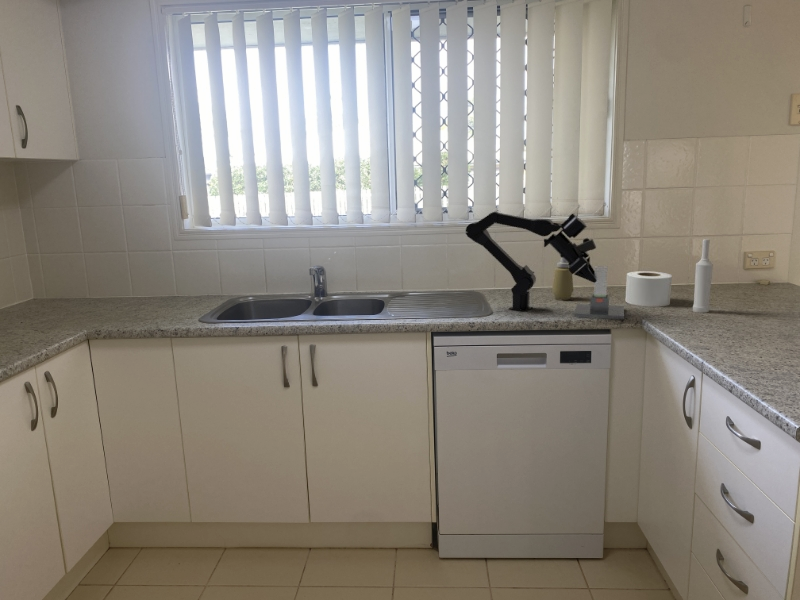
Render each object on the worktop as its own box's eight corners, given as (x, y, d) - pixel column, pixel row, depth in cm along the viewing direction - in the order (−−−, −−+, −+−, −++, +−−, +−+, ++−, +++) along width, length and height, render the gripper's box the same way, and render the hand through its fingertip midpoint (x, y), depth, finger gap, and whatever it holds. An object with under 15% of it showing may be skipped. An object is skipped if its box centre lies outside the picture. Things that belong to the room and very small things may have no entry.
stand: (573, 316, 198) (574, 299, 197) (577, 307, 213) (577, 291, 212) (623, 319, 193) (624, 301, 192) (623, 309, 208) (624, 292, 206)
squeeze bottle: (568, 301, 222) (569, 255, 219) (548, 299, 227) (549, 254, 223) (576, 298, 229) (577, 252, 225) (556, 296, 233) (557, 251, 230)
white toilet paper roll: (679, 303, 214) (681, 274, 212) (649, 308, 208) (650, 279, 205) (645, 296, 228) (647, 269, 226) (616, 301, 221) (617, 273, 219)
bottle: (711, 313, 198) (717, 240, 193) (694, 312, 199) (700, 240, 194) (706, 309, 203) (712, 238, 198) (690, 309, 204) (695, 238, 199)
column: (593, 298, 201) (594, 267, 198) (593, 295, 204) (595, 265, 202) (606, 298, 199) (607, 267, 197) (606, 296, 203) (607, 266, 201)
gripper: (580, 233, 191) (614, 267, 189) (583, 228, 208) (614, 260, 206) (555, 256, 195) (588, 290, 194) (560, 250, 212) (590, 280, 211)
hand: (596, 279), depth 201 cm, fingers open, 9 cm apart
